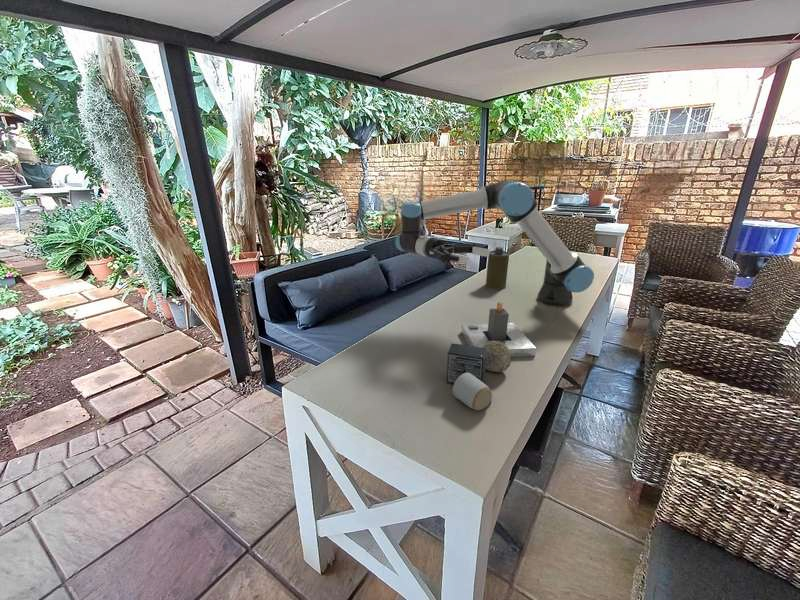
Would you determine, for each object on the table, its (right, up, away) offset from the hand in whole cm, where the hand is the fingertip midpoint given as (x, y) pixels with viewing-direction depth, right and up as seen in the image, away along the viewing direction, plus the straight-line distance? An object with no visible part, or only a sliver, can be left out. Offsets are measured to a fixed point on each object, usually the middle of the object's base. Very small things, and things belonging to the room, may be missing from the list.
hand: (478, 256), depth 126 cm
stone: (+2, -37, -12) cm, 39 cm away
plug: (+7, -30, +5) cm, 31 cm away
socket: (+7, -30, +5) cm, 32 cm away
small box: (-8, -39, -17) cm, 43 cm away
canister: (+22, -8, +63) cm, 68 cm away
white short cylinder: (-7, -43, -26) cm, 51 cm away
